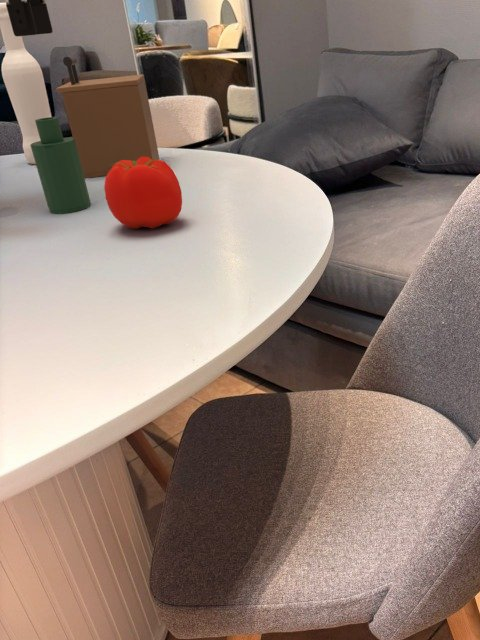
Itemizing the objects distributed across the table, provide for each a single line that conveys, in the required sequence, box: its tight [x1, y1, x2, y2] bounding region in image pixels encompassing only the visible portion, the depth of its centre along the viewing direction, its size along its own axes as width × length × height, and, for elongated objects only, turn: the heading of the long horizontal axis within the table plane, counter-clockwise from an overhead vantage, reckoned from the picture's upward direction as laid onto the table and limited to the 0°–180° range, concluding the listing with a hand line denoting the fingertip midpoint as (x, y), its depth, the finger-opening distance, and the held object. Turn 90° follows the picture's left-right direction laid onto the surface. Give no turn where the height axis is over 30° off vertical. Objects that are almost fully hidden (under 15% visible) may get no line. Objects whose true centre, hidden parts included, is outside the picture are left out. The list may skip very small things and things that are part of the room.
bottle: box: [0, 2, 52, 165], centre depth 134 cm, size 8×8×30 cm
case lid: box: [55, 54, 145, 94], centre depth 119 cm, size 14×14×5 cm
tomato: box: [103, 157, 183, 229], centre depth 87 cm, size 11×11×9 cm
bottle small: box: [30, 116, 92, 214], centre depth 98 cm, size 6×6×13 cm
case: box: [61, 78, 160, 179], centre depth 124 cm, size 14×14×15 cm
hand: (34, 34), depth 97 cm, fingers open, 9 cm apart
